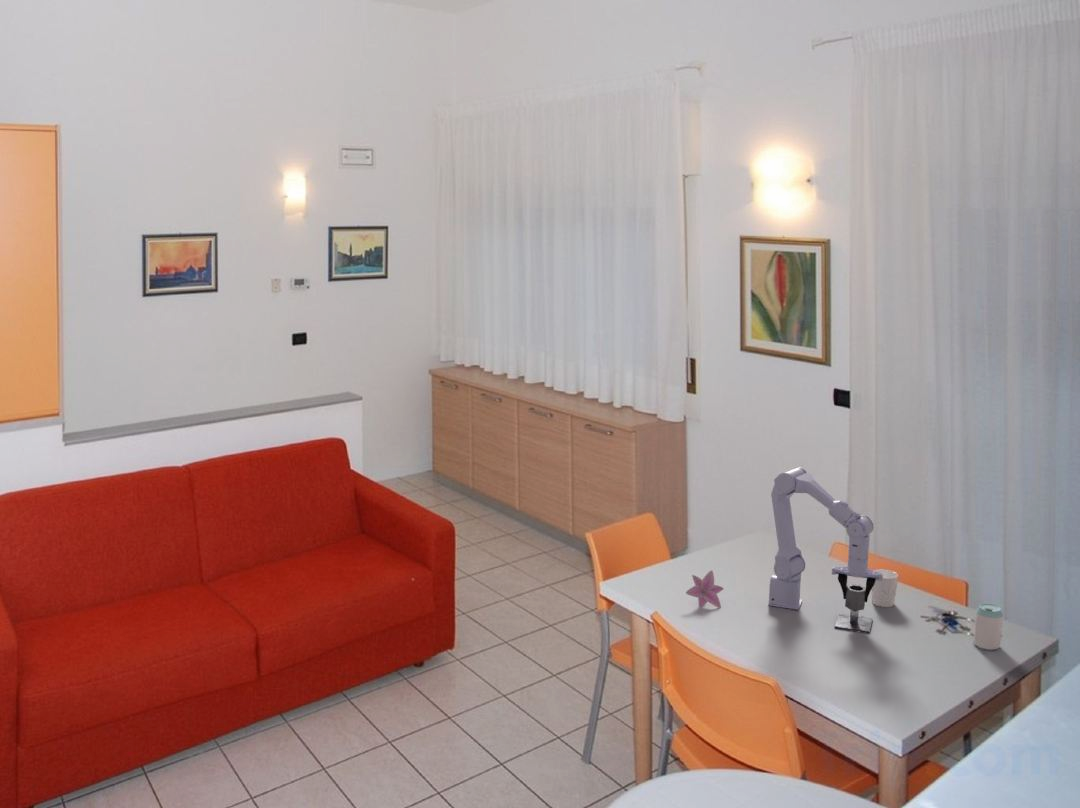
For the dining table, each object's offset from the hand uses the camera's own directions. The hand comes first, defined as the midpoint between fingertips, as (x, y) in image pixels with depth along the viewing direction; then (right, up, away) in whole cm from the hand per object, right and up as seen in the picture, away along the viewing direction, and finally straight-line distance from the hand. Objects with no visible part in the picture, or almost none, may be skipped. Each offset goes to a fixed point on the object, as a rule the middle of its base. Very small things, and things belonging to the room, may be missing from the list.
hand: (855, 599), depth 305 cm
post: (0, -8, +2) cm, 8 cm away
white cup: (+14, -5, +17) cm, 23 cm away
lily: (-43, -5, +17) cm, 46 cm away
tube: (0, -2, 0) cm, 2 cm away
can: (+34, -11, -13) cm, 38 cm away
